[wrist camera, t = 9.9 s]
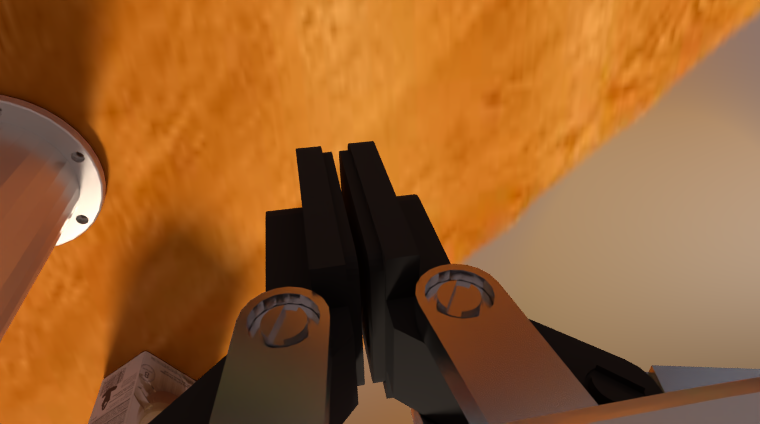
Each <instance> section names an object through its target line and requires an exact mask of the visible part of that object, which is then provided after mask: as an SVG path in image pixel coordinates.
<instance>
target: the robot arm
mask: <svg viewBox="0 0 760 424" xmlns="http://www.w3.org/2000/svg"><path fill="white" fill-rule="evenodd" d="M79 152H80V153H82V154H80V153H79ZM296 156H297V164H298V173H299V182H300V191H301V200H302V207H301V208H293V209H284V210H275V211H267V212H266V292H264V293H262V294H260V295H258V296H257V297H255V298H254V299H252V300H251V301H249V302H248V304H247V305H246V306H245V307H244V308H243V309H242V310H241V312H240V314H239V316H238V318H237V320H236V324H235V327H234V331H233V335H232V339H231V342H230V346H229V350H228V354H227V355H226V356H225V357H224V358H223V359H222V360H220V361H219V362H218V363H217V364H216V365H215V366H213V367H212V368H211V369H210V370H209V371H208V372H207V373H205V374H204V375H203V376H202V377H201V378H200V379H199V380H197V381H196V382H195V383H194V384H193V385H192V386H191V387H189V388H188V389H187V390H186V391H185V392H184V393H182V394H181V395H180V396H179V397H178V398H177V399H176V400H174V401H173V402H172V403H171V404H170V405H169V406H168V407H166V408H165V409H164V410H163V411H162V412H161V413H160V414H158V415H157V416H156V417H155V418H154V419H153V420H151V421H150V422H149V423H148V424H343V422H344V421H345V420H346V419H347V418H348V416H349V415H350V414H351V412H352V411H353V410H354V409H355V407H356V406H357V405H358V391H357V386H360V385H364V384H365V379H364V359H363V340H364V344H365V349H366V354H367V358H368V363H369V368H370V372H371V377H372V381H373V383H377V382H383V384H384V389H385V393H386V397H387V398H395V399H397V400H398V401H400V402H402V403H404V404H405V405H407V406H409V407H410V408H411V415H412V418H413V422H414V424H760V369H741V368H712V367H711V368H709V367H681V366H651V368H650V370H649V372H644V371H643V370H642V369H641V368H639V367H638V366H636V365H634V364H632V363H630V362H628V361H627V360H625V359H622V358H620V357H618V356H615V355H613V354H611V353H608V352H606V351H604V350H601V349H599V348H597V347H594V346H592V345H589V344H587V343H585V342H582V341H580V340H577V339H575V338H573V337H570V336H568V335H566V334H563V333H561V332H558V331H556V330H554V329H552V328H549V327H547V326H544V325H542V324H540V323H537V322H535V321H533V320H530V319H528V318H527V317H526V316H525V314H524V313H523V312H522V311H521V309H520V308H519V307H518V306H517V304H516V303H515V302H514V301H513V300H512V298H511V297H510V296H509V295H508V293H507V292H506V291H505V290H504V289H503V287H502V286H501V285H500V284H499V282H497V280H495V279H494V278H493V277H492V276H491V275H490V274H488V273H486V272H485V271H483V270H481V269H479V268H475V267H472V266H469V265H462V264H451V263H450V261H449V259H448V257H447V255H446V253H445V251H444V249H443V247H442V245H441V243H440V241H439V238H438V236H437V234H436V232H435V230H434V228H433V226H432V224H431V222H430V220H429V218H428V216H427V213H426V211H425V209H424V207H423V205H422V203H421V201H420V199H419V197H418V196H417V195H415V194H413V195H405V196H396V195H395V192H394V190H393V187H392V185H391V182H390V180H389V177H388V175H387V173H386V170H385V168H384V165H383V163H382V160H381V158H380V156H379V153H378V151H377V148H376V146H375V143H374V142H373V141H370V142H359V143H349V144H348V150H345V151H339V162H340V177H341V188H340V184H339V180H338V176H337V172H336V168H335V163H334V159H333V155H332V152H325V153H322V149H321V146H319V147H308V148H298V149H296ZM341 191H342V192H341ZM105 193H106V182H105V176H104V171H103V169H102V166H101V164H100V161H99V159H98V157H97V156H96V154H95V153H94V151H93V149H92V148H91V146H90V145H89V144H88V143H87V141H86V140H85V139H84V138H83V137H82V136H81V135H80V134H79V133H78V132H77V131H76V130H75V129H74V128H72V127H71V126H70V125H69V124H67V123H66V122H65V121H63V120H62V119H61V118H59V117H57V116H55V115H54V114H52V113H50V112H49V111H47V110H45V109H43V108H41V107H38V106H36V105H34V104H31V103H29V102H26V101H24V100H20V99H16V98H12V97H8V96H5V95H0V341H1V340H2V338H3V336H4V334H5V333H6V331H7V329H8V327H9V326H10V324H11V322H12V320H13V319H14V317H15V315H16V313H17V312H18V310H19V308H20V306H21V305H22V303H23V301H24V299H25V298H26V296H27V294H28V292H29V291H30V289H31V287H32V285H33V284H34V282H35V280H36V278H37V277H38V275H39V273H40V271H41V270H42V268H43V266H44V264H45V262H46V261H47V259H48V257H49V255H50V254H51V252H52V250H53V248H54V247H55V246H58V245H62V244H64V243H66V242H69V241H71V240H73V239H75V238H77V237H78V236H80V235H81V234H82V233H84V232H85V231H86V230H87V229H88V228H89V227H90V226H91V225H92V224H93V223H94V222H95V220H96V218H97V216H98V214H99V213H100V211H101V208H102V206H103V203H104V200H105ZM362 335H363V339H362Z"/></svg>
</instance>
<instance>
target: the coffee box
mask: <svg viewBox="0 0 760 424" xmlns="http://www.w3.org/2000/svg"><path fill="white" fill-rule="evenodd" d="M195 382H196V381H195V380H193V379H191V378H190V377H188V376H186V375H185V374H183V373H181V372H180V371H178V370H177V369H175V368H173V367H172V366H170V365H168V364H167V363H165V362H164V361H162V360H160V359H159V358H157V357H155V356H154V355H152V354H150V353H149V352H147V351H144V352H142V353H141V354H139V355H138V356H137V357H135V358H134V359H132V360H131V361H129V362H128V363H126V364H125V365H123V366H122V367H120V368H119V369H118V370H116V371H115V372H113V373H112V374H110V375H109V376H107V377H106V378H105V379H103V381H102V384H101V387H100V390H99V393H98V397H97V399H96V402H95V405H94V408H93V411H92V414H91V417H90V420H89V423H88V424H148V423H149V422H150V421H151V420H153V419H154V418H155V417H156V416H157V415H158V414H160V413H161V412H162V411H163V410H164V409H165V408H166V407H168V406H169V405H170V404H171V403H172V402H173V401H174V400H176V399H177V398H178V397H179V396H180V395H181V394H182V393H184V392H185V391H186V390H187V389H188V388H189V387H191V386H192V385H193V384H194V383H195Z"/></svg>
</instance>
